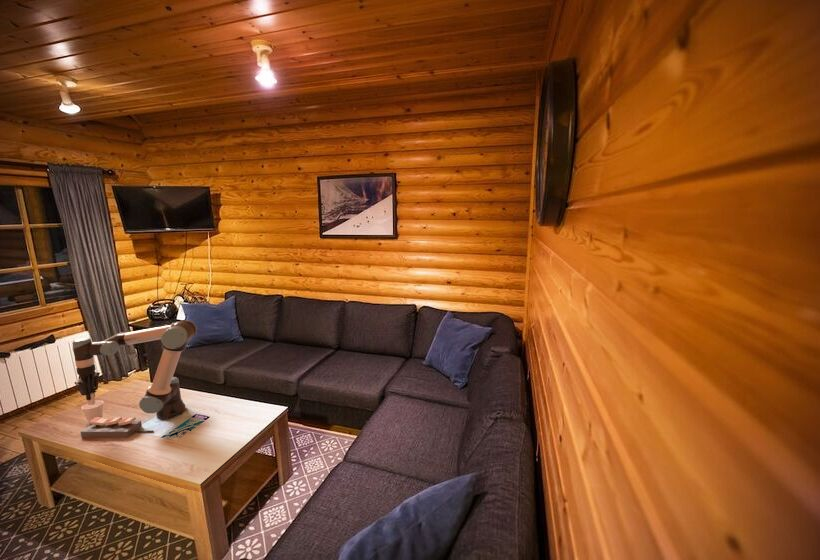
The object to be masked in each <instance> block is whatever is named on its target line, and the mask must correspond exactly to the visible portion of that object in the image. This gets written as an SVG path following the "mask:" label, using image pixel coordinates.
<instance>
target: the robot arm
mask: <svg viewBox="0 0 820 560" xmlns="http://www.w3.org/2000/svg"><path fill="white" fill-rule="evenodd" d="M197 330H198V329H197V325H196V324H195V323H194V322H193V321H191V320H185V319H184V320H181V321H175V322H172V323H171V324H167V325H162V326H157V327H151V328H145V329H139V330H135V331H134V330H133V331H128V332H127V331H126V332H125V331H121V332H117V333H116V334H114V335H112V336H110V337H108V338H106V339H103V340H102V341H92V339H91V337H81V338H77V339H74V340H73V341H72V352H73V355H74V362H75V367H76V373H77V375H78V378H77V379H78V380H77V381H74V385H76V387H77V389H78V391H79V393H80V395H81V396H85V399H86V401H87V403H88V405H94V404H95V401H96V398H95V397H96V393H97V390H98V389H99V378H100V377H99V376H100V374H101V373H100V372H99V371H96V364H95V358H94V356H110V355H114V354H116V353H117V352H118V350H119V348H121V347H124V346H130V345H135V344H136V345H137V344H142V343H146V342H147V343H148V342H152V341H158V340H161V341H160V342H161V343H162V344H161V348H162V349H163V351H162V354H161V357H160V360H159V363H158V365H157V369H156V371H155V375H154V377H153V381H152V383H151V384H149V386H147V389H146V391H145V394H144V397H141V399H140V400H139V402H138V406H139V409H141V411H142V412H144V413H146V414H149V415H150V414H152V415H153V414H156V418H157V419H158V420H168V419H172V418H175V417H178V416H179V415H181V414H183V413H185V411H186V408H187V407H186V404H185V402H184V400H183V399H182V396H181V388H180V381H179V378H178V377H176V376H174V374H175V371H176V368H177V365H178V363H179V360H180V357H181V353H182V352H184V351H185V350H186V348H187V346H188V343H189V340H191V339H192V338H193V337H195V335H197Z"/></svg>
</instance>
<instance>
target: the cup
mask: <svg viewBox="0 0 820 560" xmlns="http://www.w3.org/2000/svg"><path fill="white" fill-rule="evenodd" d="M103 408H104V400H99V399H98V400H95V404H94V405H88V402H87V403H85V404H84V405H82V406H81V407H80V409H81V410H82V412H83V414H84V416H85V418H86V421H87V423H88V424H90V421H91V420H92V419H94V418H96V417H100V418H103V411H104V409H103Z"/></svg>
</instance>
